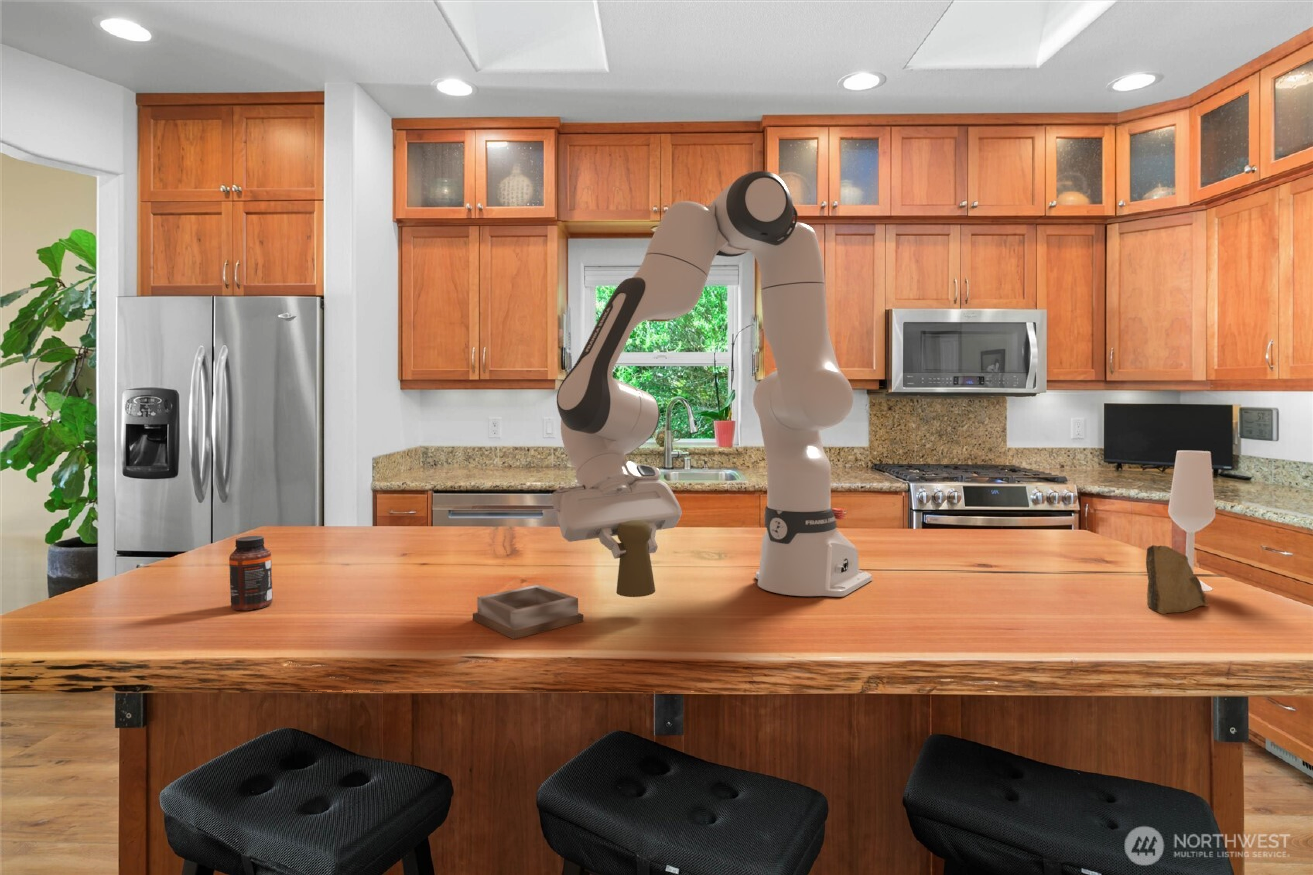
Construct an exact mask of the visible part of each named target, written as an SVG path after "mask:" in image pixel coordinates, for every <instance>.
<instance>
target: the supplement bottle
mask: <svg viewBox="0 0 1313 875" xmlns="http://www.w3.org/2000/svg"><path fill="white" fill-rule="evenodd" d="M234 546H235V550H234V551H233V552H231V553H230V555H229V557H228V558H229V559H228V560H229V561H228V563H229V590H230V605H231V606H230V607H231V608H232V609H233V610H235V611H239V610H242V611H243V610H248V611H254V610H253V609H255V610H261V609H263V608H266V606H267V607H269V606H270V605H271V604H273V575H272V574H273V573H272V570H273V569H272V554H271V553H272V552H271V551H270V550H269V549H268V548H266V547H265V537H264V536H263V535H249V536H247V535H246V536H242V537H238V538H237V537H236V539H235V545H234Z"/></svg>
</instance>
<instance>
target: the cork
mask: <svg viewBox="0 0 1313 875" xmlns="http://www.w3.org/2000/svg"><path fill="white" fill-rule="evenodd" d="M650 536H651V528H650V526H649V524H648V523H647V522H645V521H640V520H630V521H625V522H622V523H621V524H620V525H619V527H618V530H617V539H618V540H619V543H623V544H624V548H625V549H626V554H625V555H624V556H623V557H622V558H619V564H618V570H617V571H618V573H617V582H616V584H617V585H616V594H617V595H619V596H621V597H625V598H626V597H627V598H640V597H641V598H643V597H646V596H647V597H648V596H651V595H654V593H656V587H655V579H654V574H653V573H654V572H653V567H652V561H651V556H650V555H651V553H649V547H648V541H649V539H650Z"/></svg>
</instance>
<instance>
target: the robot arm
mask: <svg viewBox="0 0 1313 875" xmlns="http://www.w3.org/2000/svg"><path fill="white" fill-rule="evenodd" d="M798 216H799V214H798V211H797V209H796V207H795V205H794V203H793V199H792V196H791V193H790V191H789V189H788V187H787V185H786V184H785V182H784V181H783V180H782V178H781V177H779V176H778V175H777V174H775V173H773V172H770V171H768V170H767V171H766V170H755V171H751V172H748V173H745V174H743V175H741V176H739V177H738V178H736V180H735V181H734V182H732V183H731V184H729V185H728V186H726V187H725V188H724V189H723V190H722V191H721V192H720V193H719V194H718V196H717V197H715V199H714V200H713V201H712V202H711V203H710V204H709V205H703V204H701V203H699V202H695V201H693V200H692V201H690V200H681V201H677V202H675V203H673V204H671V205H670V206H669V207H668V208H667V210H666V211H665V213H664V214H663V216H662V217H661V219H660V220H659V221H660V222H659V223H658V224H657V227H656V228H655V231H654V233H653V235H652V237H651V240H650V242H649V244H648V247H647V250H646V252H645V254H644V258H643V261H642V263H641V265H640V267H639V268H638V270H637V272H636V273H635V274H633V276H632V277H629V278H626V279H624V280H623V281H621V282H620V283H619V285H618V286H616V288H615V290H614V291H613V292H612V294H611V296H610V297H609V299H608V301H607V303H606V304H605V307H604V309H603V311H602V313H601V315H600V317H599V318H598V320H597V322H596V323H595V326H594V328H593V330H592V331H591V334H590V336H589V337H588V339H587V342H586V343H585V346H584V347H583V350H582V352H581V353H580V355H579V357H578V359H577V360H576V362H575V364H574V365H573V367H572V368H571V370H570V371H569V372H568V373H567V375H566V376H565V378H564V379H563V380H562V382H561V383H560V385H559V388H558V390H557V394H556V406H557V411H558V414H559V416H560V435H561V440H562V443H563V447H564V449H565V453H566V455H567V457H568V460H569V462H570V464H571V465H572V466H573V467H574V469H575V479H576V480H577V483H578V485H576V486H571V487H560V488H559V487H558V488H557V489H556V490H555V491H553V492H552V493H551V496H550V501H551V504H552V507H553V509H554V510H555V511H556V512H557V520H558V525H559V531H560V533H561V536H562V538H563V539H565V540H566V541H567V542H570V543H571V542H578V541H579V542H580V541H585V540H586V541H587V540H593V539H599V542H600V544H601V545H603V546H604V547H605V548H607V549H608V550H609V551H611V554H612V556H613V559H620V558H622V557H623V556H624V555H625V554H626V549H625V548H624V544H623V543H621V542H618V541H616V539H615V538H613V537H615V536H617V530H618V527H619V525H620V524H621V523H622V522H625V521H630V520H640V521H645V522H647V523H648V524H649V526H650V528H651V536H650V539H649V541H648V547H649V553H650V554H656V552H657V550H658V543H657V541H656V533H657V531H660V530H667V529H668V530H669V529H674V528H675V527H676V526H677V524H678V522H679V521H680V519H681V516H682V512H683V511H682V508H681V506H680V503H679V501H678V500H677V497H676V496H675V494H674V492H673V490H672V489H671V487H670V486H669V484H667V483H666V482H664V481H663V480H661V478H662V473H661V470H660V469H659V468H658V467H656V466H653V465H645V464H642V463H638V462H634V461H631V460H627V459H626V455H629V454H631V453H633V452H634V451H636V450H637V449H639V448H640V447H641V446H643V445H644V444H645V443H646V442H647V441H649V440H650V439H651V438H652V437H653V436H654V434H656V431H657V429H658V428H659V422H660V417H661V416H660V415H661V413H660V408H659V403H658V401H657V399H656V398H655V396H654V395H653V394H651V393H649V392H647V391H645V390H642V389H641V388H639V387H636V386H634V385H632V384H628V383H625V382H623V381H620V380H619V379H617V378H614V377H613V371H614V368H615V366H616V364H617V362H618V361H619V358H620V356H621V355H622V352H623V351H624V348H625V346H626V344H627V342H628V341H629V338H630V336H631V334H632V333H633V331H634V329H635V328H636V327H637V326H638V325H640V324H641V323H642V322H645V321H649V320H650V321H651V320H673V319H677V318H681V317H683V316H685V315H687V314H688V313H690V312H692V310H693V309H694V308H695V307H696V305H697V304H698V303H699V301H700V299H701V297H702V294H703V293H704V292H703V291H704V289H705V286H706V283H707V279H708V276H709V274H710V270H711V267H712V263H713V262H714V260H715V257H716V256H721V257H727V258H728V257H731V258H732V257H734V258H735V257H738V256H739V257H740V256H742V255H744V254H746V253H747V252H750V253H751V254H752V255H753V257H754V258H755V260H756V263H757V265H758V269H759V272H760V279H759V280H760V281H759V282H760V296H761V297H760V299H761V311H762V312H761V314H762V327H763V328H762V330H763V336H764V338H765V341H767V343H768V345H769V347H770V350H771V353H772V356H773V360H774V364H775V368H776V370H774V371H772V372H770V373H769V374H768V375H766V376H765V377H763V378H762V379H761V380H760V381H759V382H758V383H757V385H756V386H755V388H754V392H753V395H752V396H753V397H752V399H753V400H752V401H753V407H754V409H755V412H756V413H757V415H758V419H759V423H760V424H759V425H760V428H761V434H762V439H763V446H764V450H765V458H766V469H767V470H766V472H767V473H766V474H767V475H766V476H767V477H766V478H767V479H766V480H767V481H766V482H767V484H766V485H767V486H766V488H767V491H766V492H767V493H766V494H767V498H766V500H767V502H766V503H767V506H765V508H764V514H763V518H764V527H765V528H766V531H765V533H764V534H763V535H762V538H761V548H760V558H759V560H760V561H759V569H758V570H757V571H755V579H756V580H757V586H758V587H759V588H760V589H762V590H765V591H768V592H771V593H776V594H780V595H784V596H785V595H786V596H787V595H788V596H797V597H822V596H823V597H836V598H837V597H838V598H840V597H845V596H847V595H849V594H850V593H853V592H854V591H855V590H857V589H860V588H861V587H863V586H865V585H866V584H868V583H870V582H871V581H873V576H872V574H871V573H869V572H867V571H864V570H861V569H860V567H859V566H860V565H859V551H858V548H857V547H856V546H855V545H854V544H853V543H852V542H851V541H850V540H848V539H847V538H846V536H844V534H842V532H840V530H838V529H837V528H838V524H837V521H836V520H840V521H842V520H843V519H845V518H844V517H846V516H845V515H846V512H845V511H844V510H845V509H843V508H836V507H831V504H832V503H831V500H832V498H831V495H832V494H831V492H832V491H831V489H832V466H831V462H830V460H829V458H828V456H827V454H826V452H825V449H824V447H823V442H822V438H821V432H820V431H824V430H827V429H830V428H831V427H832V428H833V427H835V426H837V425H838V424H840V423H842V422H843V421H844V420H845V419H846V418H847V416H848V415H849V414H850V412H851V410H852V407H853V405H854V404H853V403H854V392H853V388H852V385H851V383H850V381H849V379H848V378H847V377H846V376H845V375H844V374H843V372H842V371H841V368H840V365H839V363H838V358H837V355H836V353H835V350H834V346H833V344H832V339H831V335H830V332H829V331H830V330H829V323H828V321H829V320H828V309H827V296H826V293H827V292H826V280H825V277H826V276H825V269H824V262H823V256H822V251H821V248H820V243H819V240H818V239H819V238H818V236H817V234H816V231H815V230H814V228H812V227H811V226H810V225H808V224H806V223H804V222H799V221H798ZM617 537H618V536H617Z"/></svg>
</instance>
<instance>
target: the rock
mask: <svg viewBox="0 0 1313 875" xmlns="http://www.w3.org/2000/svg"><path fill="white" fill-rule="evenodd" d="M1145 565H1146V573H1147V580H1148V582H1147V592H1146V600H1147V601H1146V603H1147V605H1146V606H1148V607H1149V608H1150V609H1151V610H1152V611H1153V612H1157V613H1159V614H1161V615H1166V614H1167V613H1168V614H1169V613H1170V614H1173V613H1176V614H1177V613H1178V614H1179V613H1184V612H1187V611H1188V612H1190V611H1192V610H1193V609H1196V608H1198V607H1202V606H1206V605H1208V604H1209V603H1208V601H1207V597H1206V594H1205V591H1203V590H1202V587H1201V584H1200V581H1201V580H1200V579H1199V578H1198V576H1196V574H1194V570H1193V571H1192V569H1191V567H1190V566H1189V564H1188V558H1187V556H1186V554H1182V553H1181V552H1179V551H1177V550H1175V549H1174V548H1172V547H1170V546H1166V545H1154V544H1153V545H1150V546H1148V547H1147V548H1146V558H1145ZM1199 580H1200V581H1199Z"/></svg>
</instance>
